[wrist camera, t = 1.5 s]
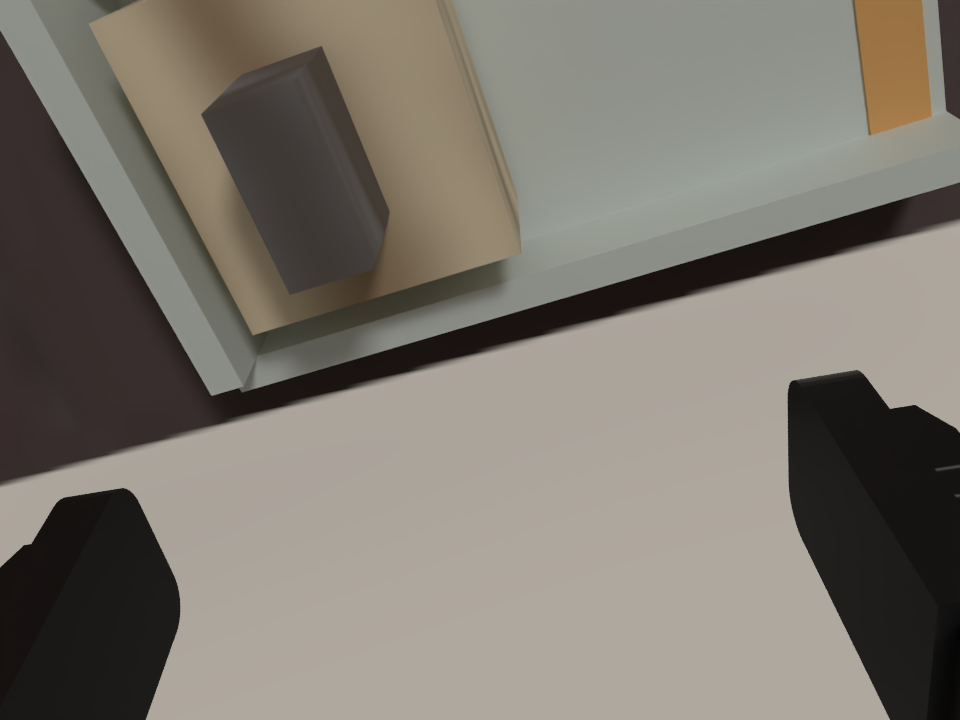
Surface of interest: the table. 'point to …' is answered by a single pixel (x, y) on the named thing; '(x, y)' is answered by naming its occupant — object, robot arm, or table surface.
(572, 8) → the bay
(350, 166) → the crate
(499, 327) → the table surface
